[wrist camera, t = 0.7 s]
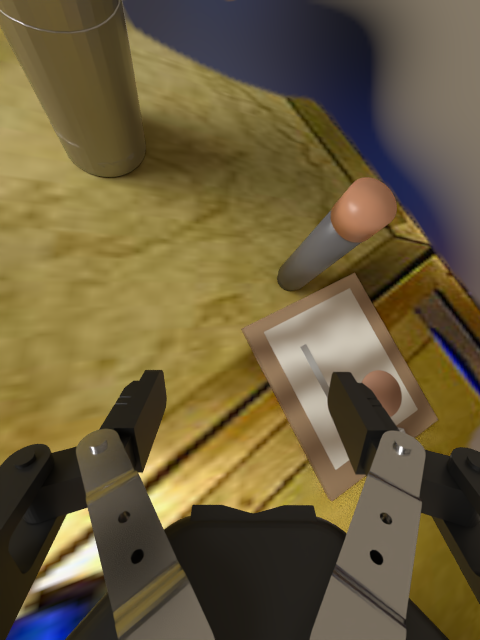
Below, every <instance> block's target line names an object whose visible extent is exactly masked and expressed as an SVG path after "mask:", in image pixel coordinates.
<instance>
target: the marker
mask: <svg viewBox="0 0 480 640" xmlns="http://www.w3.org/2000/svg"><path fill="white" fill-rule="evenodd" d="M396 212H397V204H396V200H395V197H394V195H393V193H392V192H391V190H390V189H389V188H388V187H387V186H386V185H385V184H384V183H382V182H381V181H379V180H377V179H374V178H368V177H365V178H360V179H358V180H356V181H355V182H354V183H353V184H352V185H351V186H350V187H349V188H348V189H347V191H346V192H345V193H344V194H343V195H342V196H341V197H340V199H339V200H338V201H337V202H336V203H335V204H334V206H333V207H332V210H331V211H330V212H329V213H328V214H327V215H326V216H325V218H324V219H323V220H322V221H321V222H320V223H319V224H318V225H317V227H316V228H315V229H314V230H313V231H312V232H311V233H310V234H309V236H308V237H307V238H306V239H305V240H304V241H303V242H302V244H301V245H300V246H299V247H298V248H297V249H296V250H295V251H294V253H293V254H292V255H291V256H290V257H289V258H288V259H287V260H286V262H285V263H284V264H283V265H282V266H281V267H280V269H279V272H278V276H277V280H278V284H279V285H280V287H281V288H283V289H284V290H287V291H293V290H298V289H300V288H302V287H303V286H304V285H306V284H307V283H308V282H310V281H311V280H312V279H314V278H315V277H316V276H318V275H319V274H320V273H321V272H323V271H324V270H325V269H327V268H328V267H329V266H331V265H332V264H333V263H335V262H336V261H337V260H339V259H340V258H341V257H343V256H344V255H345V254H347V253H348V252H349V251H351V250H352V249H353V248H355V247H356V246H357V245H359V244H360V243H361V242H363V241H366V240H367V239H369V238H370V237H371V236H373V235H374V234H375V233H377V232H378V231H379V230H381V229H382V228H383V227H385V226H386V225H387V224H389V223H390V222H391V221H392V220H393V219H394V217H395V215H396Z"/></svg>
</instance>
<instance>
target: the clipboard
mask: <svg viewBox="0 0 480 640" xmlns="http://www.w3.org/2000/svg"><path fill="white" fill-rule="evenodd" d="M241 330H242V332H243V334H244V335H245V337H246V339H247V341H248V343H249V345H250V347H251V349H252V351H253V353H254V355H255V357H256V359H257V361H258V363H259V365H260V367H261V369H262V371H263V372H264V374H265V376H266V378H267V380H268V382H269V384H270V386H271V388H272V390H273V392H274V394H275V396H276V398H277V400H278V402H279V404H280V406H281V407H282V409H283V411H284V413H285V415H286V417H287V419H288V421H289V423H290V425H291V427H292V429H293V431H294V433H295V435H296V437H297V439H298V441H299V443H300V444H301V446H302V448H303V450H304V452H305V454H306V456H307V458H308V460H309V462H310V464H311V466H312V468H313V470H314V472H315V474H316V476H317V478H318V480H319V481H320V483H321V485H322V487H323V489H324V491H325V493H326V495H327V497H328V499H330V500H331V501H333V500H335V499H336V498H337V497H338V496H340V495H341V494H342V493H344V492H345V491H346V490H347V489H349V488H350V487H351V486H353V485H354V484H355V483H357V482H358V481H359V480H360V479H362V478H363V477H364V476H366V475H355V472H354V470H353V468H352V465H351V463H350V460H349V458H348V456H347V453H346V451H345V448H344V446H343V444H342V441H341V439H340V436H339V434H338V432H337V429H336V427H335V424H334V422H333V420H332V417H331V415H330V412H329V409H328V403H327V399H328V393H329V387H330V381H331V376H332V373H333V372H351V373H352V375H353V377H354V378H355V380H356V381H357V383H363V384H364V385H366V386H367V387H368V388H370V389H371V390H372V391H373V393H374V394H375V396H376V397H377V400H379V401H380V403H381V404H382V407H384V409H385V410H386V412H387V413H388V415H389V416H390V417H391V419H392V420H393V422H394V423H395V425H396V426H397V428H398V429H399V431H400V432H403V433H406V434H408V435H410V436H412V437H413V438H415V437H416V436H418V435H419V434H420V433H422V432H423V431H424V430H425V429H427V428H428V427H429V426H431V425H432V424H433V423H435V422H436V421H437V420H438V418H437V417H436V415H435V413H434V411H433V410H432V408H431V406H430V404H429V403H428V401H427V399H426V397H425V396H424V394H423V392H422V390H421V388H420V387H419V385H418V383H417V381H416V380H415V378H414V376H413V374H412V373H411V371H410V369H409V367H408V366H407V364H406V362H405V360H404V359H403V357H402V355H401V353H400V352H399V350H398V348H397V346H396V344H395V343H394V341H393V339H392V337H391V336H390V334H389V332H388V330H387V329H386V327H385V325H384V323H383V322H382V320H381V318H380V316H379V315H378V313H377V311H376V309H375V308H374V306H373V304H372V302H371V300H370V299H369V297H368V295H367V293H366V292H365V290H364V288H363V286H362V285H361V283H360V281H359V279H358V278H357V276H356V274H355V273H353V274H351V275H349V276H347V277H345V278H343V279H341V280H339V281H337V282H335V283H333V284H331V285H329V286H327V287H325V288H323V289H321V290H319V291H317V292H315V293H313V294H311V295H309V296H307V297H305V298H303V299H301V300H299V301H297V302H295V303H293V304H291V305H289V306H287V307H285V308H282V309H280V310H278V311H276V312H274V313H272V314H270V315H268V316H266V317H264V318H262V319H260V320H258V321H256V322H254V323H252V324H250V325H248V326H246V327H244V328H242V329H241Z"/></svg>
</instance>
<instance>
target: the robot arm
mask: <svg viewBox="0 0 480 640" xmlns="http://www.w3.org/2000/svg"><path fill="white" fill-rule="evenodd" d="M0 27H1V29H2V31H3V33H4V35H5V36H6V38H7V40H8V42H9V44H10V46H11V48H12V50H13V52H14V54H15V55H16V57H17V59H18V61H19V63H20V65H21V67H22V69H23V71H24V73H25V75H26V76H27V78H28V80H29V82H30V84H31V86H32V88H33V90H34V92H35V94H36V95H37V97H38V99H39V101H40V103H41V105H42V107H43V109H44V111H45V113H46V115H47V116H48V118H49V120H50V122H51V124H52V126H53V128H54V130H55V132H56V134H57V136H58V138H59V139H60V141H61V143H62V145H63V147H64V149H65V151H66V153H67V155H68V156H69V158H70V159H71V160H72V162H73V163H74V164H75V165H77V166H78V167H79V168H80V169H82V170H84V171H86V172H88V173H90V174H93V175H96V176H102V177H116V176H121V175H124V174H127V173H129V172H131V171H132V170H134V169H135V168H136V167H137V166H138V165H139V164H140V163H141V162H142V160H143V158H144V155H145V151H146V143H145V137H144V131H143V125H142V119H141V112H140V106H139V100H138V94H137V88H136V82H135V76H134V70H133V64H132V58H131V52H130V46H129V40H128V34H127V28H126V22H125V16H124V9H123V3H122V0H0ZM166 399H167V398H166V389H165V381H164V374H163V371H162V370H145V372H144V373H143V375H142V377H141V379H140V381H132V382H131V383H130V384H129V385H128V386H126V387H125V388H124V390H123V391H122V393H121V395H120V398H118V400H117V401H116V404H115V405H114V406H113V408H112V410H111V411H110V413H109V414H108V416H107V418H106V419H105V421H104V423H103V424H102V426H101V428H100V429H99V430H97V431H94V432H92V433H90V434H88V435H87V436H86V437H84V438H83V439H82V440H81V441H80V442H79V444H78V446H77V447H73V448H70V449H66V450H62V451H58V452H54V453H51V451H50V449H49V447H48V446H47V445H44V444H34V445H30V446H27V447H24V448H22V449H20V450H18V451H16V452H15V453H13V454H12V455H11V456H9V457H8V458H7V459H6V460H5V461H4V462H3V464H2V465H1V466H0V640H5V639H6V637H7V635H8V633H9V631H10V629H11V627H12V625H13V623H14V621H15V619H16V617H17V615H18V613H19V611H20V609H21V607H22V605H23V603H24V601H25V599H26V597H27V595H28V592H29V590H30V588H31V586H32V584H33V582H34V580H35V578H36V576H37V574H38V572H39V570H40V568H41V566H42V564H43V562H44V560H45V558H46V556H47V554H48V552H49V550H50V548H51V545H52V543H53V541H54V539H55V537H56V535H57V533H58V531H59V529H60V527H61V525H62V523H63V521H64V519H65V517H66V515H67V514H69V513H72V512H75V511H78V510H81V509H84V508H88V511H89V515H90V519H91V523H92V527H93V532H94V536H95V540H96V544H97V548H98V552H99V557H100V561H101V565H102V569H103V573H104V578H105V582H106V586H107V590H108V592H107V593H106V594H105V595H104V596H103V597H102V599H101V600H100V601H99V602H98V603H97V604H96V605H95V606H94V608H93V609H92V610H91V611H90V612H89V613H88V614H87V615H86V617H85V618H84V619H83V620H82V621H81V622H80V623H79V625H78V626H77V627H76V628H75V629H74V630H73V631H72V632H71V634H70V635H69V636H68V637H67V638H66V639H65V640H449V639H448V638H447V637H446V636H445V635H444V634H443V633H442V632H441V631H440V630H439V629H438V628H437V627H436V626H435V625H434V624H433V622H432V621H431V620H430V619H429V618H428V617H427V616H426V615H425V614H424V613H423V612H422V611H421V610H420V609H419V608H418V607H417V606H416V605H415V604H414V603H413V602H412V601H411V600H410V598H409V592H410V584H411V577H412V570H413V563H414V556H415V549H416V542H417V535H418V528H419V521H420V514H421V513H424V514H427V515H430V516H432V518H433V520H434V521H435V523H436V525H437V527H438V529H439V531H440V532H441V534H442V536H443V538H444V540H445V542H446V543H447V545H448V547H449V549H450V551H451V553H452V554H453V556H454V558H455V560H456V562H457V564H458V565H459V567H460V569H461V571H462V573H463V575H464V576H465V578H466V580H467V582H468V584H469V586H470V587H471V589H472V591H473V593H474V595H475V597H476V598H477V600H478V602H479V604H480V452H478V451H475V450H473V449H469V448H463V447H459V448H456V449H454V450H453V451H452V453H451V455H450V456H447V455H443V454H439V453H435V452H431V451H428V450H425V449H424V448H423V446H422V445H421V444H420V443H419V442H418V441H417V440H416V439H415V438H413V437H412V436H410V435H408V434H406V433H403V432H400V431H399V429H398V428H397V426H396V425H395V423H394V422H393V420H392V419H391V417H390V416H389V415H388V413H387V412H386V410H385V409H384V407H382V404H381V403H380V401H379V400H377V397H376V396H375V394H374V393H373V391H372V390H371V389H370V388H368V387H367V386H366V385H364V384H363V383H357V381H356V380H355V378H354V377H353V375H352V373H351V372H333V373H332V376H331V381H330V387H329V393H328V399H327V403H328V409H329V412H330V415H331V417H332V420H333V422H334V424H335V427H336V429H337V432H338V434H339V436H340V439H341V441H342V444H343V446H344V448H345V451H346V453H347V456H348V458H349V460H350V463H351V465H352V468H353V470H354V472H355V475H366V476H367V478H366V481H365V484H364V487H363V490H362V492H361V495H360V498H359V501H358V504H357V506H356V509H355V512H354V515H353V518H352V521H351V523H350V526H349V529H348V532H347V534H346V533H345V532H344V531H343V530H342V529H340V528H339V527H337V526H336V525H334V524H332V523H331V522H329V521H327V520H324V519H322V518H319V517H316V514H315V510H314V506H312V505H283V506H280V507H276V508H273V509H269V510H266V511H262V512H259V513H248V512H245V511H241V510H238V509H234V508H231V507H227V506H224V505H192V512H191V516H188V517H185V518H183V519H180V520H178V521H176V522H175V523H173V524H171V525H170V526H168V527H167V528H166V529H163V527H162V525H161V523H160V520H159V518H158V516H157V514H156V512H155V509H154V507H153V505H152V503H151V500H150V498H149V496H148V494H147V492H146V489H145V487H144V485H143V483H142V480H141V478H140V476H139V474H138V472H143V471H144V468H145V465H146V462H147V459H148V457H149V454H150V451H151V448H152V445H153V442H154V440H155V437H156V434H157V431H158V428H159V425H160V423H161V420H162V417H163V414H164V411H165V408H166Z"/></svg>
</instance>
